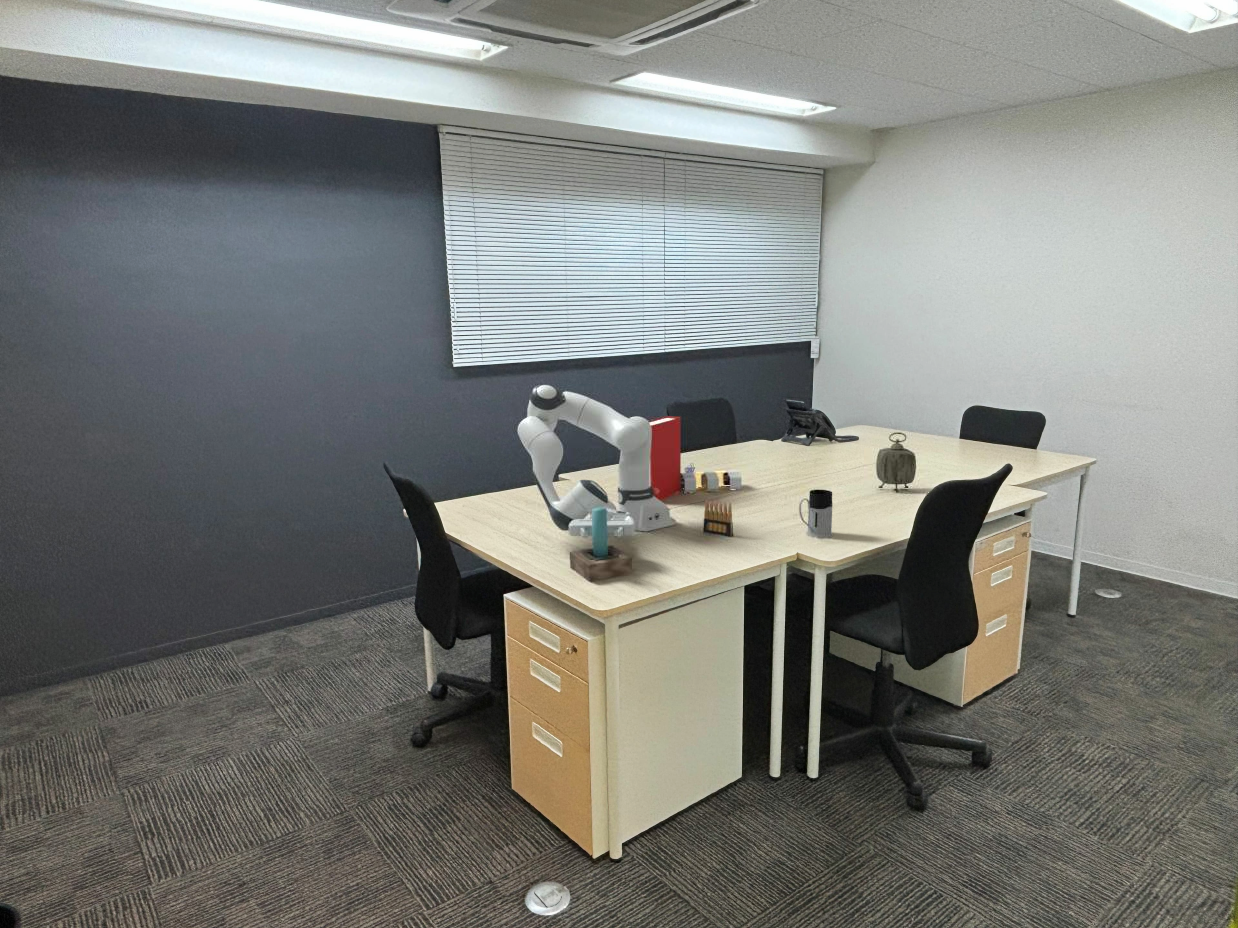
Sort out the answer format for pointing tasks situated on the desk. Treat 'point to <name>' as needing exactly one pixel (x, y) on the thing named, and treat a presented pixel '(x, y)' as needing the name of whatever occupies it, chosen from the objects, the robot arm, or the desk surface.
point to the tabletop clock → (896, 464)
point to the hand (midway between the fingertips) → (601, 534)
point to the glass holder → (819, 513)
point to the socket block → (601, 564)
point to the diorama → (709, 479)
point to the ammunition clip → (718, 519)
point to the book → (665, 456)
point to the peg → (599, 532)
